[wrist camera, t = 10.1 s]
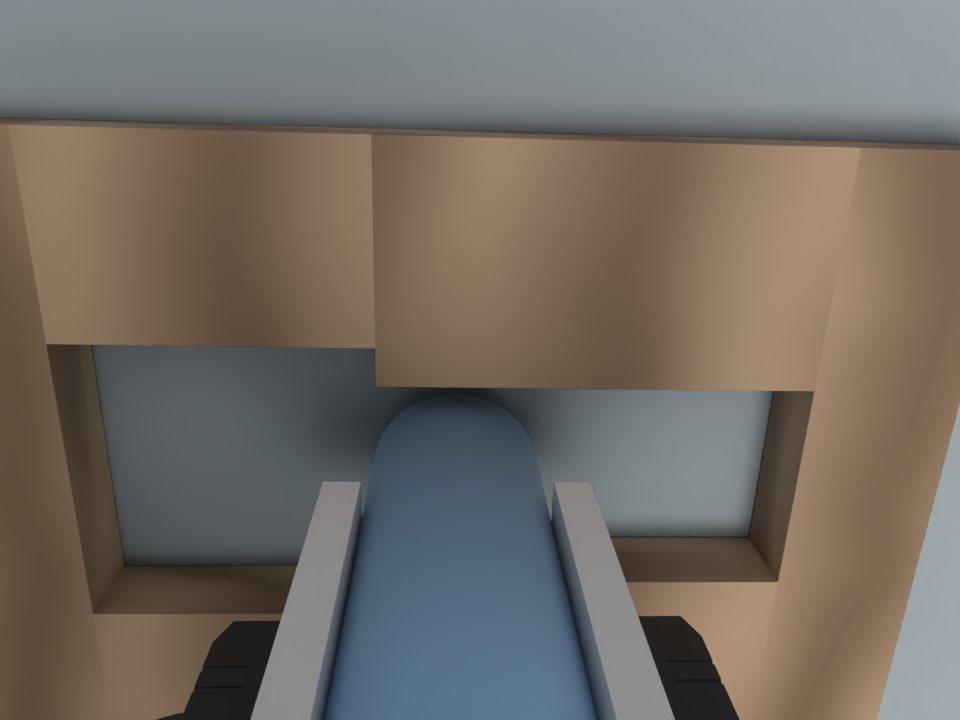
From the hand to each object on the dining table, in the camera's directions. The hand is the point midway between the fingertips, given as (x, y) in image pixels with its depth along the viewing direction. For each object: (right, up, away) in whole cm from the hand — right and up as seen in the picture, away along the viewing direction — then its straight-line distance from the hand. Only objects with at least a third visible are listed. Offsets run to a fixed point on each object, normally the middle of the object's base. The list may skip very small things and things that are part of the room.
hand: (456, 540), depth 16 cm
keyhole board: (0, +1, +4) cm, 4 cm away
